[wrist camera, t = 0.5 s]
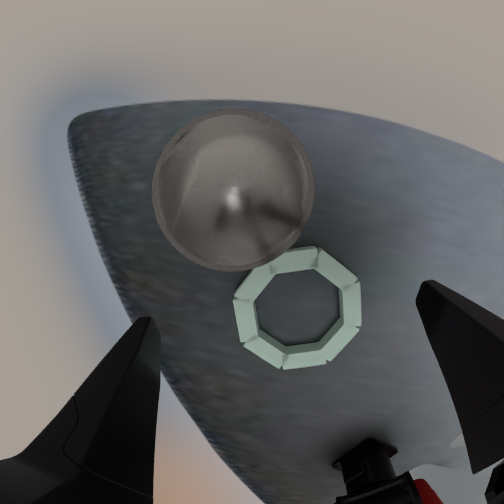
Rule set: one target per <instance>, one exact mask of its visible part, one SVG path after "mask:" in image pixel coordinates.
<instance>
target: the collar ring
mask: <svg viewBox="0 0 504 504" xmlns="http://www.w3.org/2000/svg"><path fill="white" fill-rule="evenodd" d="M308 269H315V270H316V271H318V272H319V273H320V274H322V275H323V276H324V277H325V278H327V279H328V280H329V281H331V282H332V283H333V284H334V285H336V286H337V287H338V290H339V305H340V318H339V319H338V320H337V322H336V323H335V324H334V325H333V326H332V327H331V329H330V330H329V331H328V332H327V333H326V334H325V335H324V336H323V337H322V339H321V340H320V341H319V342H315V343H308V344H301V345H293V346H284V345H283V344H281V343H280V342H278V341H277V340H275V339H274V338H272V337H271V336H269V335H268V334H266V333H265V332H264V331H262V330H261V329H259V324H258V318H257V312H256V305H255V299H256V298H257V297H258V296H259V294H260V293H261V292H262V291H263V289H264V288H265V287H266V286H267V284H268V283H269V282H270V281H271V279H272V278H273V277H274V275H275V274H279V273H287V272H294V271H301V270H308ZM357 279H358V278H357V277H356V276H355V275H354V274H353V273H351V272H350V271H349V270H348V269H346V268H345V267H344V266H343V265H341V264H340V263H339V262H338V261H336V260H335V259H334V258H333V257H331V256H330V255H329V254H328V253H326V252H325V251H324V250H323V249H321V248H320V247H319V248H318V249H317V248H316V247H315V246H307V247H300V248H292V249H288V250H287V251H286V252H285V253H283V254H282V255H281V256H279V257H278V258H276V259H275V260H273V261H271V262H269V263H267V264H265V265H263V266H260V267H257V268H254V269H252V270H251V272H250V273H249V274H248V276H247V277H246V278H245V280H244V281H243V282H242V283H241V285H240V286H239V287H238V289H237V290H236V292H235V294H234V296H235V297H234V299H233V304H234V310H235V315H236V321H237V326H238V331H239V336H240V342H244V345H243V346H244V347H246V348H247V349H249V350H250V351H252V352H253V353H255V354H256V355H258V356H259V357H261V358H262V359H264V360H265V361H267V362H268V363H270V364H272V365H273V366H275V367H276V368H278V369H279V368H280V367H281V366H282V365H283V370H286V369H295V368H302V367H310V366H316V365H323V364H326V359H327V360H328V361H330V362H331V361H332V360H333V359H334V358H335V356H336V355H337V354H338V353H339V352H340V351H341V350H342V349H343V348H344V347H345V346H346V345H347V344H348V343H349V341H350V340H351V339H352V338H353V337H354V336H355V335H356V334H357V333H358V331H359V328H358V326H361V290H360V282H359V281H358V280H357Z"/></svg>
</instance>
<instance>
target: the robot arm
mask: <svg viewBox="0 0 504 504" xmlns="http://www.w3.org/2000/svg"><path fill="white" fill-rule="evenodd" d="M416 306H417V309H418V311H419V314H420V317H421V320H422V322H423V325H424V328H425V331H426V334H427V337H428V339H429V342H430V344H431V347H432V349H433V351H434V354H435V356H436V358H437V361H438V363H439V366H440V368H441V371H442V373H443V376H444V378H445V381H446V384H447V386H448V389H449V392H450V395H451V397H452V400H453V403H454V406H455V409H456V412H457V415H458V419H459V422H460V425H461V429H462V433H463V436H464V440H465V444H466V448H467V452H468V456H469V460H470V465H471V469H472V473H473V474H476V473H478V472H480V471H481V470H483V469H485V468H487V467H489V466H491V465H492V464H494V463H496V462H498V461H499V460H501V459H503V458H504V320H503V319H501V318H500V317H498V316H496V315H495V314H493V313H491V312H490V311H488V310H486V309H485V308H483V307H481V306H479V305H478V304H476V303H474V302H473V301H471V300H469V299H467V298H465V297H464V296H462V295H460V294H458V293H457V292H455V291H453V290H451V289H449V288H447V287H446V286H444V285H442V284H440V283H438V282H436V281H434V280H427V281H424V282H422V284H421V286H420V289H419V292H418V294H417V297H416ZM160 350H161V338H160V334H159V332H158V329H157V327H156V324H155V322H154V320H153V318H152V317H139V318H138V319H137V320H136V321H135V322H134V323H133V324H132V326H131V327H130V328H129V329H128V330H127V331H126V332H125V334H124V335H123V336H122V337H121V338H120V339H119V341H118V342H117V343H116V344H115V345H114V346H113V348H112V349H111V350H110V351H109V352H108V354H107V355H106V356H105V357H104V358H103V359H102V361H101V362H100V363H99V364H98V365H97V367H96V368H95V369H94V370H93V371H92V373H91V374H90V375H89V376H88V378H87V379H86V380H85V381H84V382H83V384H82V385H81V386H80V387H79V388H78V390H77V391H76V392H75V394H74V396H72V397H71V398H70V400H69V401H68V402H67V403H66V405H65V406H64V407H63V408H62V410H61V411H60V412H59V413H58V414H57V415H56V417H55V418H54V419H53V420H52V421H51V422H50V423H49V424H48V425H47V426H46V427H45V428H44V430H43V431H42V432H41V433H40V434H39V435H38V436H37V437H36V438H35V439H34V440H33V441H32V442H31V443H30V444H29V445H28V447H27V448H26V449H25V450H23V451H22V452H21V453H20V454H18V455H16V456H14V457H11V458H8V459H3V460H0V504H153V476H154V475H153V474H154V453H155V436H156V423H157V411H158V401H159V391H160ZM397 452H398V450H397V448H395V447H392V446H390V445H387V444H385V443H382V442H380V441H377V440H375V439H373V438H368V439H366V440H365V441H363V442H362V443H361V444H360V445H358V446H357V447H356V448H354V449H353V450H351V451H350V452H349V453H347V454H346V455H344V456H343V457H342V458H340V459H339V460H337V461H336V462H334V463H333V464H332V468H334V469H337V470H340V471H342V474H343V479H344V483H345V484H346V490H347V495H345V496H342V497H341V496H339V497H336V503H334V504H423V503H422V500H421V496H420V494H419V491H418V489H417V487H416V485H415V483H414V481H413V479H412V477H411V475H410V473H409V471H407V472H405V473H404V474H402V475H399V476H397V477H396V475H395V472H394V469H393V466H392V464H391V461H390V458H391V457H392V456H393V455H395V454H396V453H397ZM485 497H486V500H487V504H504V460H503V461H502V462H501V463H500V464H498V465H497V466H496V467H495V468H494V469H493V471H492V474H491V477H490V481H489V483H488V486H487V489H486V492H485Z"/></svg>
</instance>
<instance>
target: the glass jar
mask: <svg viewBox="0 0 504 504" xmlns="http://www.w3.org/2000/svg"><path fill="white" fill-rule="evenodd" d="M314 195H315V183H314V174H313V170H312V166H311V163H310V160H309V158H308V155H307V153H306V151H305V150H304V148H303V146H302V144H301V143H300V142H299V140H298V139H297V138H296V136H295V135H294V134H293V133H292V132H291V131H290V130H289V129H287V128H286V127H285V126H284V125H282V124H281V123H280V122H278V121H276V120H275V119H273V118H271V117H269V116H267V115H264V114H262V113H259V112H255V111H251V110H244V109H225V110H218V111H215V112H211V113H207V114H205V115H203V116H200V117H198V118H196V119H194V120H193V121H191V122H189V123H188V124H187V125H185V126H184V127H183V128H181V129H180V130H179V131H178V132H177V133H176V134H175V135H174V136H173V137H172V138H171V140H170V141H169V142H168V143H167V145H166V146H165V148H164V150H163V151H162V153H161V155H160V157H159V159H158V162H157V164H156V168H155V171H154V175H153V181H152V202H153V208H154V212H155V216H156V219H157V221H158V224H159V226H160V228H161V230H162V232H163V233H164V235H165V236H166V238H167V239H168V241H169V242H170V243H171V244H172V245H173V247H174V248H175V249H176V250H178V251H179V252H180V253H181V254H182V255H183V256H185V257H186V258H188V259H189V260H191V261H193V262H195V263H197V264H199V265H201V266H204V267H207V268H210V269H214V270H219V271H229V272H234V271H245V270H250V269H254V268H257V267H260V266H263V265H265V264H267V263H269V262H271V261H273V260H275V259H276V258H278V257H279V256H281V255H282V254H283V253H285V252H286V251H287V250H288V249H289V248H290V247H291V246H292V245H293V244H294V243H295V242H296V240H297V239H298V238H299V236H300V235H301V233H302V232H303V230H304V229H305V226H306V224H307V222H308V220H309V218H310V215H311V211H312V208H313V203H314Z"/></svg>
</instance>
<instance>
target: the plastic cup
mask: <svg viewBox="0 0 504 504" xmlns="http://www.w3.org/2000/svg"><path fill="white" fill-rule="evenodd" d="M413 481H414V483H415V485H416V487H417V489H418V491H419V494H420V496H421V500H422V503H423V504H443V503H442V502H441V500H440V499H439V497H438V496H437V494H436V493H435V492H434V490H432V489H431V487H430V486H429V484H428V483H427V482H426V481H425V480H424V479H416V480H413Z"/></svg>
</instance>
